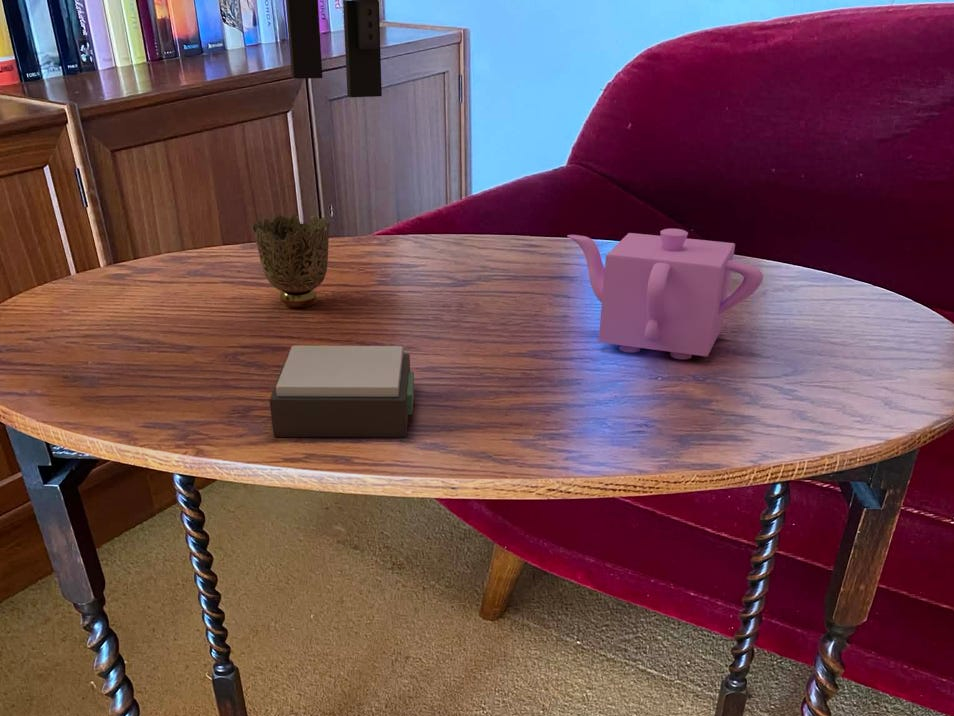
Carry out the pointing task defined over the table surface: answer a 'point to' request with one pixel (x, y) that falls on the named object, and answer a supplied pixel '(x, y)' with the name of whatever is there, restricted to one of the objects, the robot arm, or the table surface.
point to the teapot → (665, 291)
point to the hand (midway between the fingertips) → (334, 87)
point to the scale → (343, 392)
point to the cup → (293, 256)
